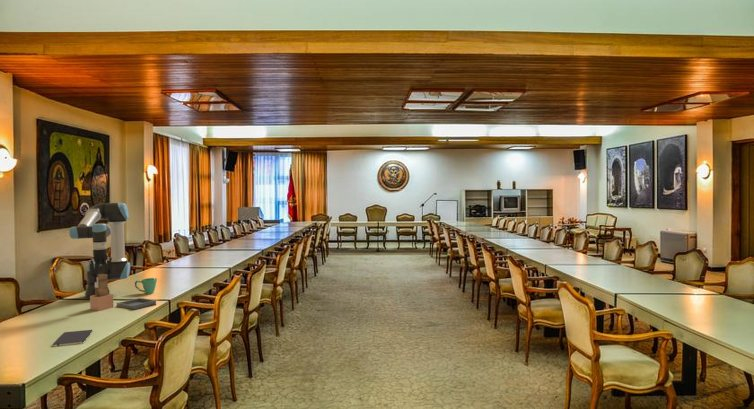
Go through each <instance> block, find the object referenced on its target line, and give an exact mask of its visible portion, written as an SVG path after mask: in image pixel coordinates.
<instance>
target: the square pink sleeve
mask: <svg viewBox="0 0 754 409" xmlns="http://www.w3.org/2000/svg"><path fill="white" fill-rule="evenodd" d="M89 304H90V307H89V309H90V310H94V311H103V310H108V309H112V308H114V294H112V293H110V294H108V295H106V296H101V297H97V296H95V295H92V296H90V298H89Z"/></svg>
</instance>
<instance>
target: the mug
mask: <svg viewBox="0 0 754 409" xmlns="http://www.w3.org/2000/svg"><path fill="white" fill-rule="evenodd" d="M157 280H158V278H156V277H155V278H154V277H148V278H143V279H140V280H136V281H134V286H135V288H136V289H137V290H138V291H139V292H142V293H144V294H146V295H151V294H154V292H155V290H156V287H157V282H158V281H157ZM137 283H141V284H142V287H143V289H141V288H140V287H139V285H137Z"/></svg>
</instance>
